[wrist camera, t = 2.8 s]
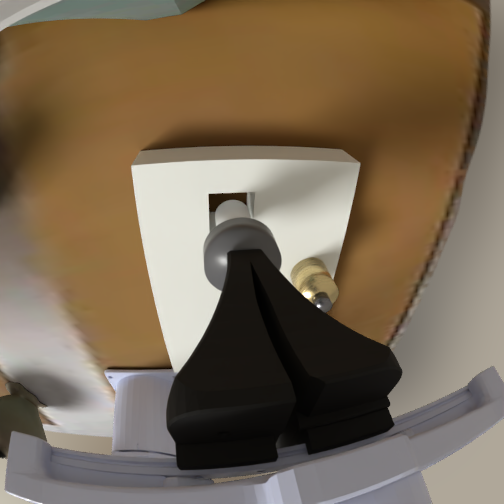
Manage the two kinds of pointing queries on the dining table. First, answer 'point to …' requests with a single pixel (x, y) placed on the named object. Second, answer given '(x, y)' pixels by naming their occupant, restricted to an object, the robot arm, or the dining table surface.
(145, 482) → the robot arm
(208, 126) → the dining table surface
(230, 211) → the knob
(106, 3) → the disposable coffee cup
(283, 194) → the mount block
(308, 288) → the gold domed cylinder
